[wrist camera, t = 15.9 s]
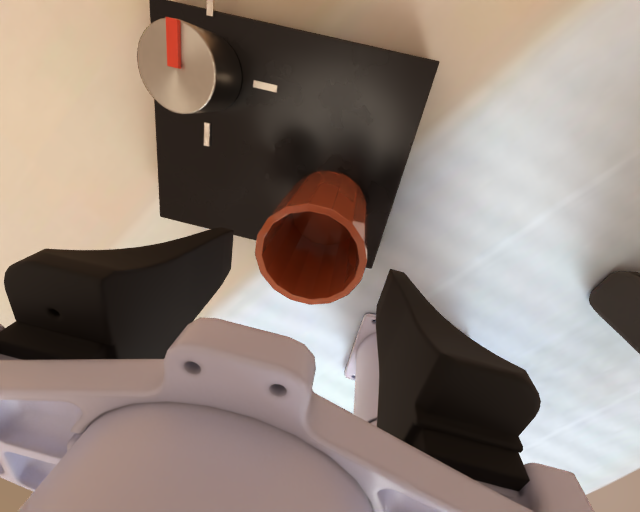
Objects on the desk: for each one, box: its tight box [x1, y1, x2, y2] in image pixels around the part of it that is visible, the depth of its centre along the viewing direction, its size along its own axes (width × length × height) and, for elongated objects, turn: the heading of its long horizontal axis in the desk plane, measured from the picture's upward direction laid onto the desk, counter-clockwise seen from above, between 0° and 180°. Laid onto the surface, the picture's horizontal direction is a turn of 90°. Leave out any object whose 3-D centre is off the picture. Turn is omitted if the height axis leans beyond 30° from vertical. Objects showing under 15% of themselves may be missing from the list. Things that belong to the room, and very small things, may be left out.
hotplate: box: [150, 0, 439, 269], centre depth 20 cm, size 17×14×3 cm
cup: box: [255, 171, 368, 305], centre depth 18 cm, size 5×5×7 cm
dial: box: [137, 17, 242, 114], centre depth 16 cm, size 4×4×4 cm
